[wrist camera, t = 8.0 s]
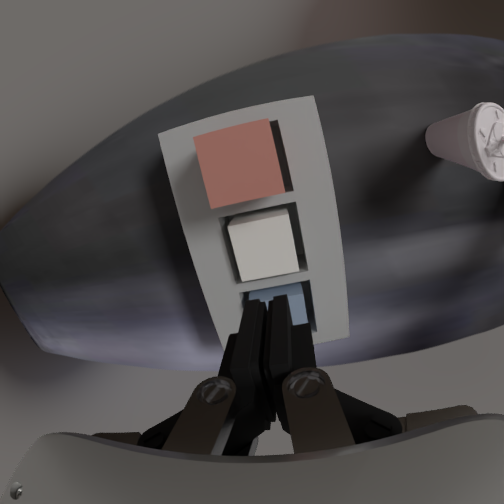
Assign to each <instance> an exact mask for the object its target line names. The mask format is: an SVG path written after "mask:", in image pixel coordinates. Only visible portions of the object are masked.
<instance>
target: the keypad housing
mask: <svg viewBox="0 0 504 504" xmlns="http://www.w3.org/2000/svg"><path fill="white" fill-rule="evenodd" d="M266 118H268V119H269V123H270V127H271V131H272V135H273V139H274V144H275V148H276V152H277V157H278V161H279V166H280V170H281V175H282V179H283V184H284V188H285V193H282V194H277V195H272V196H267V197H263V198H258V199H253V200H249V201H244V202H240V203H235V204H231V205H226V206H222V207H218V208H214V209H211V207H210V203H209V199H208V196H207V192H206V188H205V184H204V180H203V176H202V172H201V168H200V164H199V160H198V156H197V152H196V148H195V144H194V140H193V137H195V136H198V135H202V134H205V133H209V132H212V131H216V130H220V129H223V128H227V127H231V126H235V125H239V124H243V123H248V122H252V121H257V120H261V119H266ZM158 136H159V140H160V145H161V149H162V153H163V157H164V161H165V165H166V169H167V173H168V177H169V180H170V184H171V188H172V192H173V195H174V199H175V203H176V206H177V210H178V213H179V217H180V220H181V224H182V227H183V231H184V234H185V237H186V241H187V244H188V247H189V250H190V254H191V257H192V260H193V263H194V266H195V269H196V272H197V275H198V279H199V282H200V285H201V288H202V291H203V294H204V296H205V299H206V302H207V305H208V308H209V311H210V314H211V317H212V319H213V322H214V325H215V328H216V331H217V333H218V336H219V339H220V341H221V344H222V347H223V349H224V351H225V348H226V344H227V341H228V337H229V335H230V334H233V333H238V331H239V326H240V322H241V318H242V313H243V309H244V305H245V301H247V300H249V294H250V291H251V290H257V289H263V288H268V287H274V286H279V285H285V284H290V283H295V282H301V286H302V290H303V295H304V302H305V308H306V314H307V320H308V323H310V325H311V331H312V338H313V344H318V343H323V342H328V341H333V340H338V339H342V338H347V337H349V318H348V302H347V289H346V278H345V268H344V258H343V249H342V241H341V233H340V226H339V219H338V212H337V206H336V199H335V193H334V187H333V182H332V176H331V171H330V166H329V161H328V156H327V151H326V146H325V141H324V137H323V132H322V128H321V124H320V120H319V116H318V111H317V108H316V104H315V100H314V96H306V97H300V98H293V99H287V100H282V101H276V102H271V103H266V104H261V105H256V106H252V107H247V108H243V109H239V110H235V111H231V112H227V113H223V114H219V115H216V116H212V117H209V118H205V119H202V120H198V121H195V122H192V123H189V124H186V125H183V126H179V127H176V128H174V129H171V130H168V131H165V132H162V133H159V134H158ZM281 204H286V207H287V211H288V214H289V219H290V224H291V229H292V234H293V239H294V245H295V250H296V255H297V261H298V266H299V271H297V272H292V273H287V274H282V275H276V276H271V277H266V278H260V279H255V280H249V281H243V282H242V280H241V276H240V272H239V269H238V265H237V261H236V257H235V254H234V250H233V246H232V242H231V238H230V235H229V231H228V225H229V223H230V222H231V220H232V218H233V216H234V215H235V214H238V213H243V212H247V211H252V210H257V209H262V208H266V207H271V206H276V205H281Z"/></svg>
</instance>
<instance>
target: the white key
mask: <svg viewBox="0 0 504 504" xmlns="http://www.w3.org/2000/svg"><path fill="white" fill-rule="evenodd" d="M228 231H229V235H230V238H231V242H232V246H233V250H234V254H235V257H236V261H237V265H238V269H239V272H240V276H241V280H242V282H243V281H249V280H255V279H260V278H266V277H271V276H276V275H282V274H287V273H292V272H297V271H299V266H298V261H297V255H296V250H295V245H294V239H293V234H292V229H291V224H290V219H289V214H288V211H287V207H286V204H281V205H276V206H271V207H266V208H262V209H257V210H252V211H247V212H243V213H238V214H235V215H234V216H233V218H232V220H231V222H230V223H229V225H228Z"/></svg>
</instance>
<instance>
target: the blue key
mask: <svg viewBox="0 0 504 504" xmlns="http://www.w3.org/2000/svg"><path fill="white" fill-rule="evenodd" d="M285 294H287V296H288V301H289V306H290V311H291V317H292V322H293V325H298V324H304V323H308V320H307V314H306V308H305V302H304V295H303V290H302V286H301V282H295V283H290V284H285V285H279V286H274V287H268V288H263V289H257V290H251V291H250V294H249V300H254V299H260V301H261V302H264V301H265V303H266V306H267V311H268V302H269V301H270V300H273V296H279V295H285Z"/></svg>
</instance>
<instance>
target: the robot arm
mask: <svg viewBox="0 0 504 504" xmlns="http://www.w3.org/2000/svg"><path fill="white" fill-rule="evenodd" d="M276 412H277V415H278V418H279V421H280V422H281V425H282V428H283V430H284V431H286V432H287V433H289V434H290V435H291V439H292V444H293V449H294V454H286V455H285V454H284V455H268V456H254V454H255V451H256V448H257V445H258V436H259V435H260V434H261V433H262V432H264V430H270V424H271V422H275V420H276ZM0 504H504V415H502V414H492V413H491V414H489V413H487V414H477V412H476V411H475V410H474V409H473V408H472V407H470V406H467V405H458V406H454V407H448V408H443V409H437V410H431V411H424V412H417V413H409V414H406V417H398V418H397V417H396V416H394V415H392V414H391V413H388V412H386V411H383V410H381V409H378V408H376V407H374V406H372V405H369V404H367V403H365V402H363V401H360V400H358V399H356V398H354V397H351V396H349V395H347V394H345V393H343V392H340V391H339V390H336V389H334V387H333V384H332V382H331V380H330V377H329V376H328V374H327V373H326V372H325V371H323V370H321V369H319V368H316V360H315V353H314V345H313V338H312V331H311V325H310V323H304V324H298V325H293V322H292V317H291V311H290V306H289V301H288V296H287V294H285V295H279V296H273V300H270V301H269V302H268V311H267V306H266V303H265V301H264V302H261V301H260V299H254V300H247V301H245V305H244V309H243V313H242V318H241V322H240V326H239V331H238V333H233V334H230V335H229V337H228V341H227V344H226V348H225V351H224V355H223V359H222V362H221V366H220V370H219V374H218V376H217V377H212V378H208V379H206V380H204V381H202V382H201V383H200V384H198V385H197V387H196V388H195V389H194V391H193V393H192V395H191V397H190V398H189V400H188V402H187V404H186V406H185V407H184V409H183V410H182V411H180V412H178V413H177V414H175V415H173V416H171V417H170V418H168V419H166V420H164V421H163V422H161V423H159V424H157V425H155V426H154V427H152V428H150V429H148V430H147V431H145V432H144V433H143V434H142V435H141V434H140V433H139V432H129V433H128V432H127V433H96V434H94V435H86V434H79V433H70V432H59V433H50V434H46V435H43V436H41V437H39V438H38V439H37V440H36V441H35V442H34V443H33V444H32V446H31V447H30V448H29V450H28V451H27V452H26V454H25V455H24V457H23V458H22V460H21V461H20V463H19V465H18V466H17V468H16V470H15V472H14V473H13V475H12V477H11V479H10V481H9V482H8V484H7V486H6V488H5V490H4V492H3V494H2V497H1V499H0Z"/></svg>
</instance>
